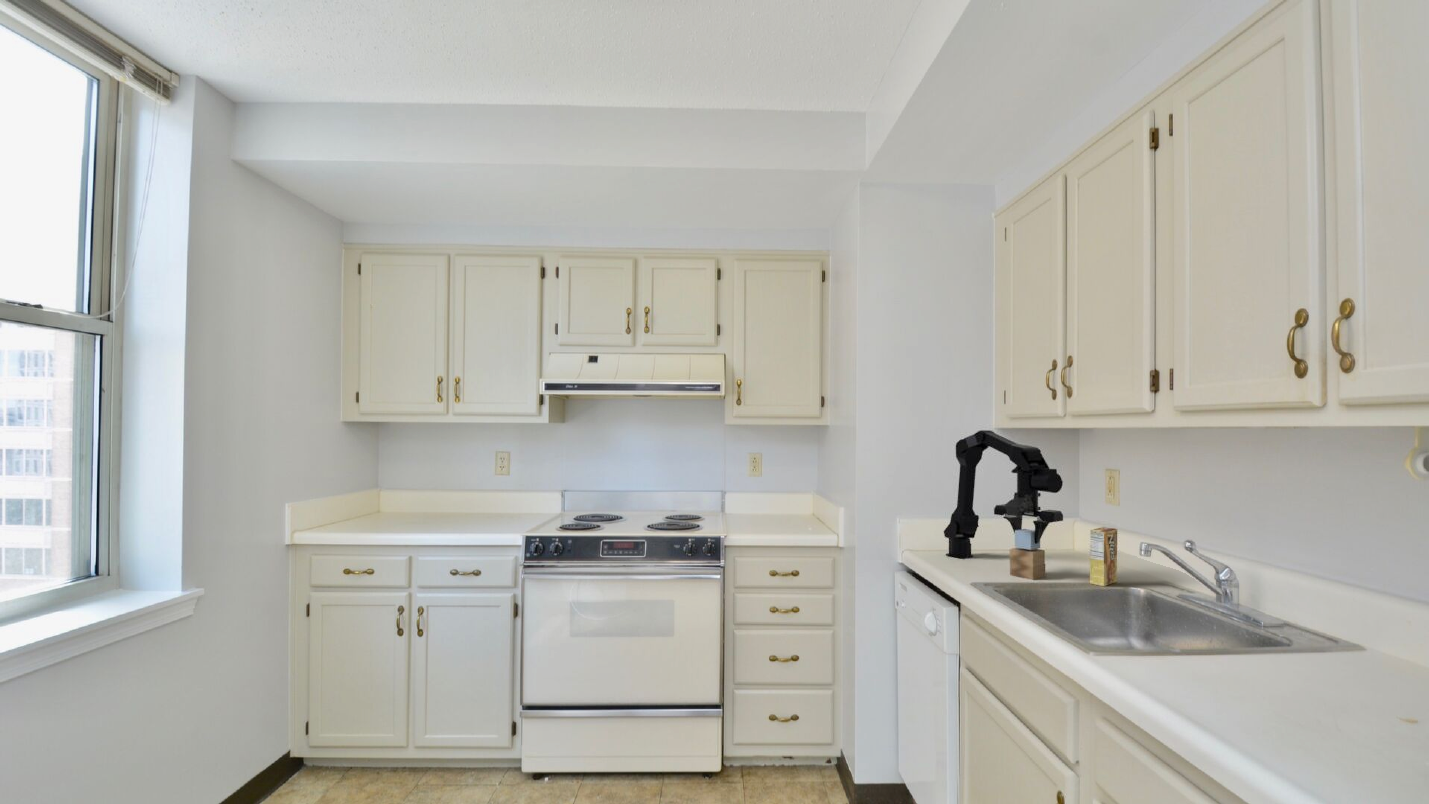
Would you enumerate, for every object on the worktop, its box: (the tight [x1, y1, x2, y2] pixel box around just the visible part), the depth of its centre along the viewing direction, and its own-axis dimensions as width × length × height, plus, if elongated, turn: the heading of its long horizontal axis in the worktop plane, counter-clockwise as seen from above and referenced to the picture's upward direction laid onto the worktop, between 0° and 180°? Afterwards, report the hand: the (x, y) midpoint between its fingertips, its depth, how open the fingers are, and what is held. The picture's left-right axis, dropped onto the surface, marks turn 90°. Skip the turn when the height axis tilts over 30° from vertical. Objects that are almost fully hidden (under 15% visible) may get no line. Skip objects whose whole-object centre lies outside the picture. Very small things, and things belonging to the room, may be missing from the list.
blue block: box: [1014, 528, 1041, 550], centre depth 204 cm, size 5×5×5 cm
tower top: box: [1009, 547, 1046, 567], centre depth 204 cm, size 7×7×4 cm
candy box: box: [1089, 526, 1118, 587], centre depth 196 cm, size 9×4×15 cm, turn 129°
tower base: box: [1009, 562, 1046, 581], centre depth 204 cm, size 7×7×4 cm
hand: (1027, 542), depth 204 cm, fingers open, 5 cm apart
